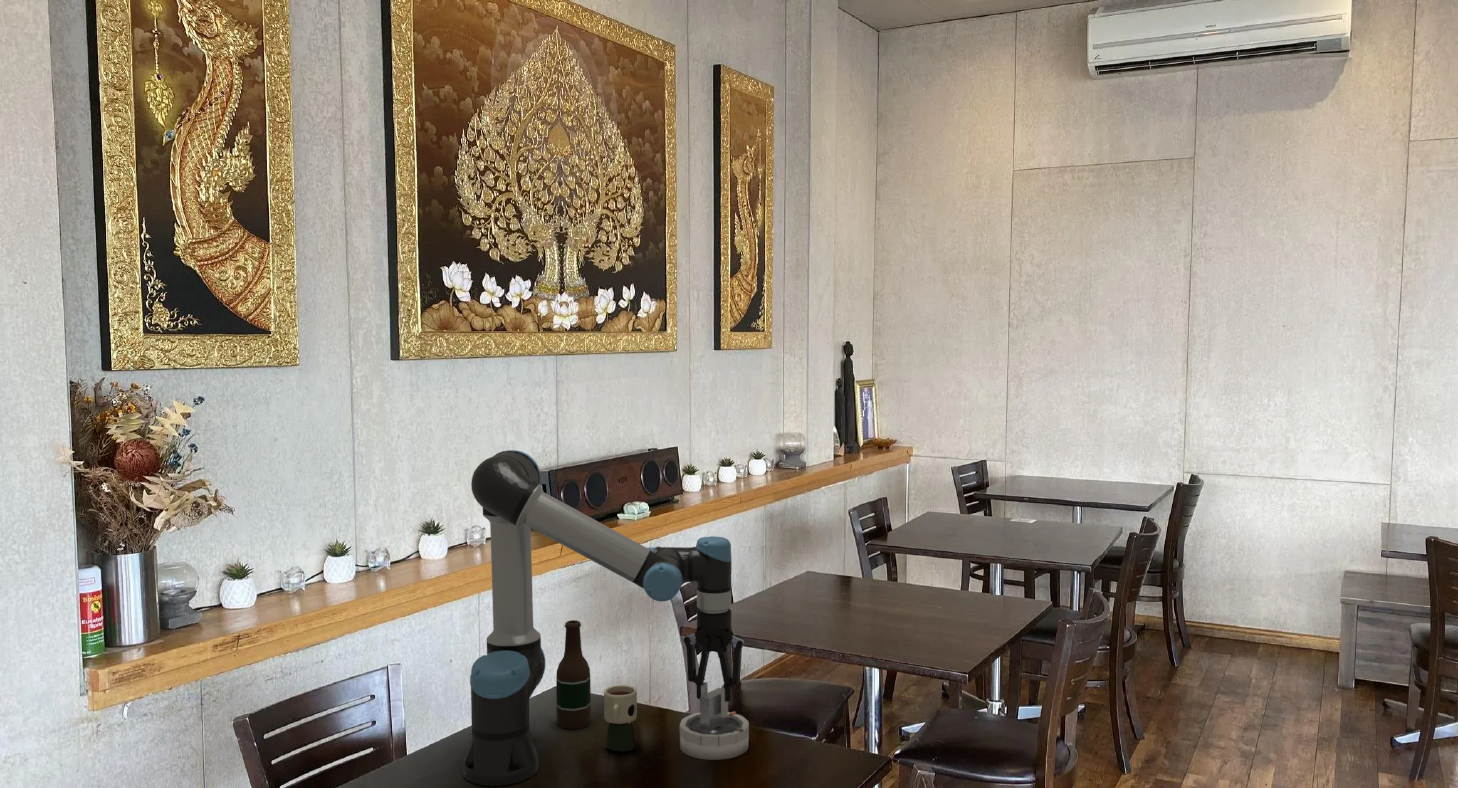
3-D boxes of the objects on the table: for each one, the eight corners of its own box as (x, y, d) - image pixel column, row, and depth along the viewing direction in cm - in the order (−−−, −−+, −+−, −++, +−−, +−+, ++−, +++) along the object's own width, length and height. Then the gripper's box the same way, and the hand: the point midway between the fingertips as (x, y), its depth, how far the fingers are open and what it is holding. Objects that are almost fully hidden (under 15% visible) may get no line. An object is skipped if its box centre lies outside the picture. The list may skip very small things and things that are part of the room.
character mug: (631, 759, 219) (631, 699, 218) (598, 758, 220) (598, 698, 219) (642, 740, 230) (641, 682, 229) (610, 738, 230) (610, 681, 230)
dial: (720, 745, 218) (720, 705, 218) (679, 733, 225) (678, 695, 224) (749, 728, 227) (749, 690, 227) (708, 718, 234) (708, 681, 233)
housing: (665, 748, 225) (665, 724, 224) (708, 727, 237) (708, 704, 236) (721, 765, 216) (721, 740, 215) (762, 742, 228) (762, 718, 227)
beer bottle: (556, 718, 242) (555, 617, 241) (589, 716, 244) (589, 616, 242) (557, 731, 235) (556, 627, 233) (591, 728, 236) (590, 625, 235)
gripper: (755, 606, 226) (755, 711, 227) (681, 601, 230) (682, 705, 231) (748, 615, 219) (747, 724, 220) (671, 610, 223) (672, 717, 224)
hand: (714, 714), depth 226 cm, fingers closed on dial, 4 cm apart
